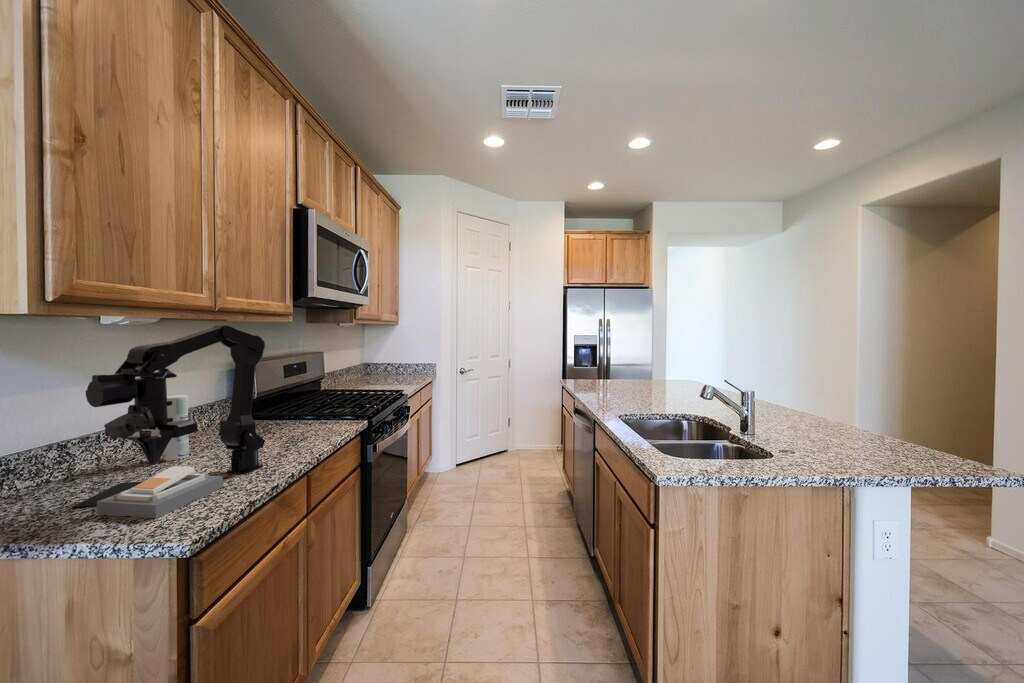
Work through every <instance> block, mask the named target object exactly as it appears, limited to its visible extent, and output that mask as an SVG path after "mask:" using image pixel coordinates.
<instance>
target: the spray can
mask: <svg viewBox="0 0 1024 683" xmlns="http://www.w3.org/2000/svg"><path fill="white" fill-rule="evenodd" d="M188 398H189V397H188V394H176V395H175V394H173V395H167V401H172V405H170V406H167V408H168V418H173V422H176V421H181V420H189V401H188V400H189V399H188ZM170 423H172V422H170ZM167 424H168V423H167ZM189 440H190V438H189V434H187V435H184V436H180V437H177V438H172V439H171V440H170V442H169V443H168V445H167V446H166V448H165V450H164V452H163V454H162V456H163V461H164V460H166V461H165V462H173V461H172V460H176V461H179V460H178V459H181V460H184V459H187V458H189V456H190V454H189V453H190V448H189V447H190V446H189V444H190V441H189ZM186 457H187V458H186ZM183 458H184V459H183Z"/></svg>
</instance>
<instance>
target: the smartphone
mask: <svg viewBox="0 0 1024 683" xmlns="http://www.w3.org/2000/svg"><path fill="white" fill-rule="evenodd" d="M144 481H145V480H143V481H130V482H129V481H128V482H119V483H117V484H115V485H113V486H111V487H109V488H107V489H105V490H103V491H101V492H99V493H97V494H95V495H93V496H91V497H89V498H87V499H85V500H83V501H80V502H79V503H76V504H75V505H73V506H72V507H71V509H72V510H77V508H80V509H87V508H86V507H92V508H94V507H93V506H97V501H100V500H103V499H105V498H108V497H111V496H114V495H115V494H118V493H121V492H123V491H126V490H129V489H131V488H133V487H135V486H137V485H139V484H140V483H142V482H144Z"/></svg>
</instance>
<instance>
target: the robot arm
mask: <svg viewBox="0 0 1024 683" xmlns="http://www.w3.org/2000/svg"><path fill="white" fill-rule="evenodd" d="M219 343H221V345H222V346H225V347H227V348H228V349H230V356H231V359H232V361H233V362H234V366H235V368H234V378H233V384H232V386H233V387H232V394H231V395H232V396H231V405H230V414H229V416H228V417H227V419H226V420H221V421H220V422H219V433H218V434H217V435H218V436H219V439H220V442H221V443H223V444H224V446H225V448H226V450H232V451H231V457H230V466H231V468H230V469H227V473H233V474H235V473H236V474H248V473H250V472H252V471H255V470H257V469H259V468H262V467H263V466H264V464H263V463H259V450H261V449H262V448H264V444H265V441H266V440H265V439H264V438H263V437H261V436H260V435H259V434H258V433H257V431H256V430H257V429H256V427H257V426H256V423H255V419H254V418H253V416H252V404H253V396H254V385H255V375H256V367H257V364H258V363H259V362H260V361H261V359H262V358H263V355H264V352H265V351H264V350H265V346H266V345H265V340H264V339H262V337H260V336H259V335H257V334H256V335H253V334H251V333H248V332H244V331H241V330H239V329H236V328H235V327H233V326H231V325H227V324H222V325H221V324H218V325H213V326H212V327H210V328H207V329H204V330H200V331H198V332H194V333H192V334H188V335H185V336H182V337H180V338H177V339H174V340H173V339H172V340H171V341H165V342H157V343H156V342H155V343H150V344H145V345H144V344H143V345H137V346H135V347H132V348H131V349H129V351H128V353H127V355H126V356H127V357H126V359H125V360H124V361H123V362H122V364H121V365H120V366H119V367H118V369H117V370H116V371H115V372H114V373H111V374H93V375H92V376H91V381H90V382H89V383H88V386H87V387H86V388H87V389H86V390H85V399H86V401H87V403H88V404H89V405H90V406H91V407H93V408H100V407H107V406H114V405H119V404H126V403H130V402H132V401H134V403H133V404H130V405H128V408H127V413H125V414H122V415H119V416H118V417H117V418H115V419H113V420H112V419H111V421H108V422H107V423H105V424H104V425H103V426H104V433H105V434H104V435H105V437H109V438H110V439H114V438H117V439H122V440H123V439H127V440H128V441H132V442H134V443H136V444H138V445H139V447H140V449H141V450H142V452H143V454H144V456H145V457H146V460H147V461H148V463H149V465H157V464H158V463H159V461H160V459H161V457H162V456H163V452H164V450H165V448H166V446H167V445H168V443H169V442H170V440H171V439H172V438H177V437H180V436H184V435H187V434H188V435H190V434H193V433H198V429H199V428H198V422H196V421H195V420H193V419H192V420H189V419H188V420H181V421H176V422H173V418H168V408H167V406H170V405H172V401H167V396H168V392H167V391H168V390H167V389H168V388H167V387H168V386H167V379H173V378H176V377H177V374H176V373H174V372H172V371H171V370H170V369H169V368H168V367H169V366H171V365H174V364H175V363H177V361H178V360H179V359H181V358H182V357H184V356H185V355H188V354H191V353H193V352H196V351H199V350H201V349H204V348H207V347H209V346H212V345H215V344H219ZM170 422H172V423H170ZM167 423H168V424H167Z"/></svg>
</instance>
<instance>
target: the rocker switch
mask: <svg viewBox="0 0 1024 683" xmlns="http://www.w3.org/2000/svg"><path fill="white" fill-rule="evenodd" d="M194 469H195V468H194V466H182V465H181V466H180V465H179V466H178V465H172V466H170V467H168V468H166V469H164V470H163V471H161V472H159V473H156V474H155V475H153V476H152V477H150V478H148V479H147V480H143V481H144V482H142V483H140V484H139V485H137V486H135V487H133V488H131V493H132V494H148V495H155V494H157V493H158V492H160V491H162V490H163V489H165V488H167V487H169V486H170V485H172V484H174V483H175V482H177V481H179V480H180V479H182V478H184V477H185V476H187V475H189V474H191V473H194V472H195V470H194Z"/></svg>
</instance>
